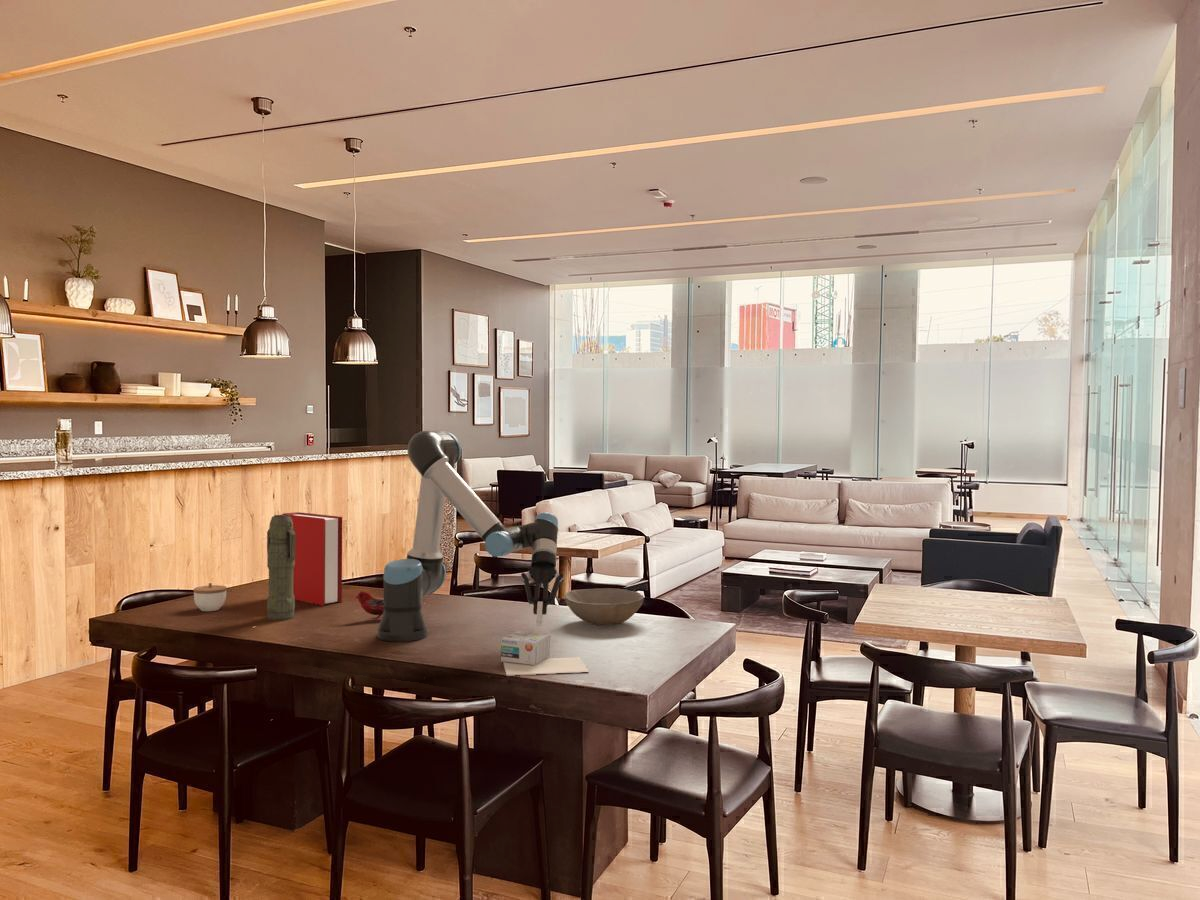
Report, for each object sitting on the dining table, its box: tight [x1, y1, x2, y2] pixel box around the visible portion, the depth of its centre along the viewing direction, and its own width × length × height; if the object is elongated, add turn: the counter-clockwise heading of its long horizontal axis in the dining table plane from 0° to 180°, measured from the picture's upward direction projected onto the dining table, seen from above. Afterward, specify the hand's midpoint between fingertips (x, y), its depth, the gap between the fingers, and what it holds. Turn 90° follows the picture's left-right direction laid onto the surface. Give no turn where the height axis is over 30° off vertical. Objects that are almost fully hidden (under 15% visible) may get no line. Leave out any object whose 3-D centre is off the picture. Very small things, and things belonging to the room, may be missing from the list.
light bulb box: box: [500, 630, 551, 666], centre depth 248 cm, size 11×7×11 cm
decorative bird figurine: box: [354, 590, 384, 620], centre depth 299 cm, size 3×18×10 cm, turn 108°
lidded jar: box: [193, 582, 228, 612], centre depth 312 cm, size 11×11×9 cm
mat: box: [502, 656, 590, 677], centre depth 241 cm, size 22×15×1 cm
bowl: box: [564, 587, 645, 627], centre depth 297 cm, size 26×26×10 cm
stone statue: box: [266, 514, 296, 621], centre depth 300 cm, size 9×12×35 cm
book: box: [281, 511, 343, 606], centre depth 332 cm, size 27×8×32 cm, turn 54°
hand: (539, 623), depth 254 cm, fingers closed
